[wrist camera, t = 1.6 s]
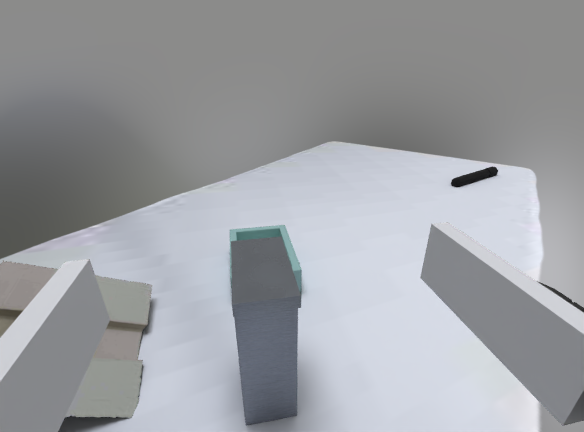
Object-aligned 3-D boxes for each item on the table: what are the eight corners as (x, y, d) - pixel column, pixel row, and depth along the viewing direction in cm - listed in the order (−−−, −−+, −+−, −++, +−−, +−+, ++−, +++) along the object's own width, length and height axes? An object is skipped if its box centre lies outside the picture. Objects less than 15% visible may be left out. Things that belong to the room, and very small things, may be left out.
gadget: (459, 180, 78) (500, 167, 87) (450, 177, 80) (491, 165, 89) (457, 189, 79) (497, 176, 89) (448, 186, 81) (488, 173, 90)
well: (233, 303, 40) (230, 278, 38) (231, 250, 51) (229, 229, 49) (301, 294, 41) (301, 269, 39) (284, 245, 53) (284, 224, 51)
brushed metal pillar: (246, 437, 25) (232, 304, 19) (242, 356, 32) (230, 241, 26) (299, 427, 26) (301, 295, 20) (283, 350, 33) (281, 236, 27)
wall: (119, 321, 42) (-16, 284, 34) (155, 281, 40) (18, 231, 32) (86, 465, 29) (-148, 461, 21) (136, 417, 27) (-106, 391, 18)
